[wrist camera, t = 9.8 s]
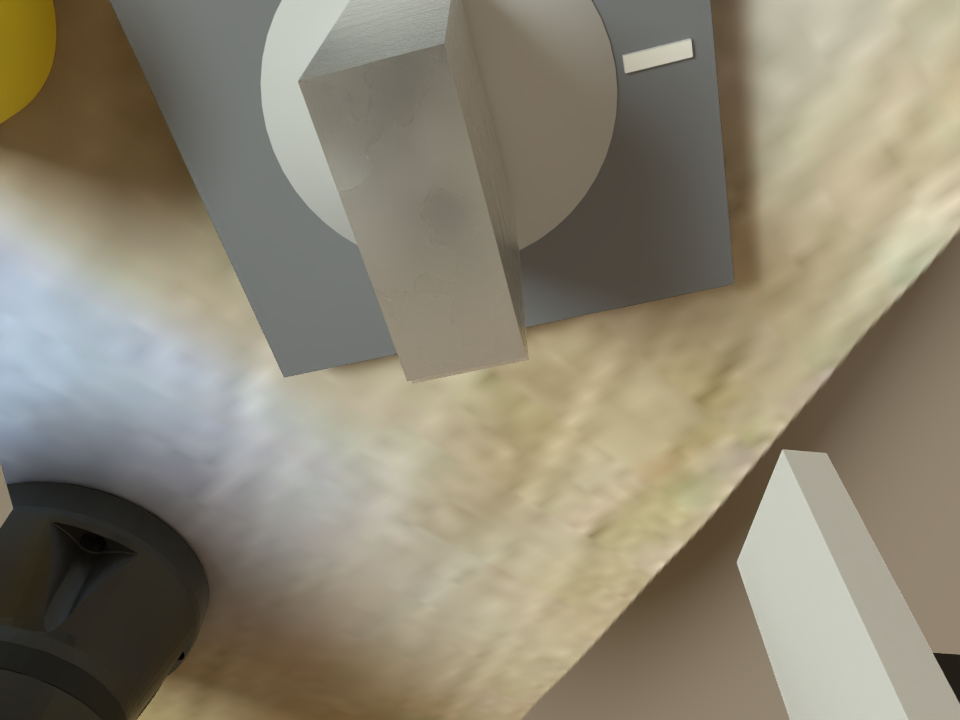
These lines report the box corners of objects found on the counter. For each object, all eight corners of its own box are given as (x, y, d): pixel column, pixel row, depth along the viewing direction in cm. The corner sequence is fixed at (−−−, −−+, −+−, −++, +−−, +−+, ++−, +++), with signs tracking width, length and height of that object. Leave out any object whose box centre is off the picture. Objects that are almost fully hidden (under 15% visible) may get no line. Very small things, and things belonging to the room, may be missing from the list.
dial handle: (351, -3, 28) (297, 81, 20) (454, -31, 28) (444, 43, 19) (428, 243, 33) (411, 393, 25) (517, 224, 33) (529, 369, 24)
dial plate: (294, 346, 40) (283, 380, 37) (84, -127, 29) (51, -119, 26) (720, 256, 37) (735, 286, 35) (667, -304, 26) (684, -313, 24)
